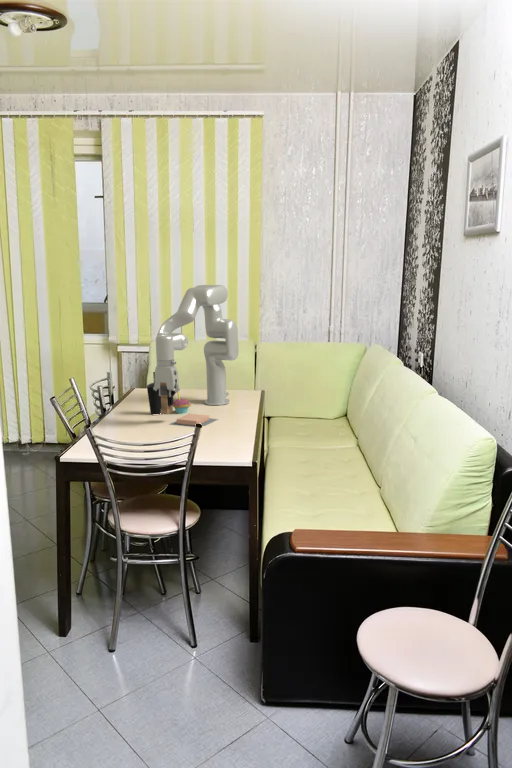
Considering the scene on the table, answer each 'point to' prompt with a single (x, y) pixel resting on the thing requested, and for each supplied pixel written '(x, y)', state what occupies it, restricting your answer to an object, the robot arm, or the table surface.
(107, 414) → the table surface
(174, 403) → the cupcake
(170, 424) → the mat
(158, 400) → the drinking cup
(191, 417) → the tile
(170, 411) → the banded brown box
